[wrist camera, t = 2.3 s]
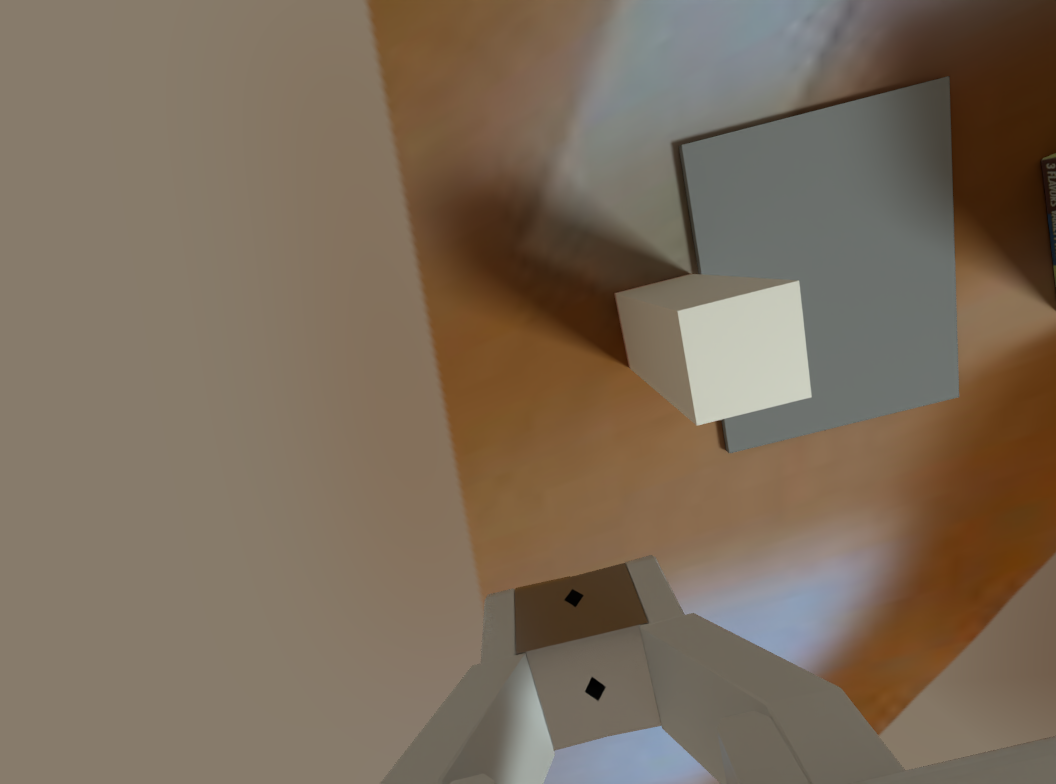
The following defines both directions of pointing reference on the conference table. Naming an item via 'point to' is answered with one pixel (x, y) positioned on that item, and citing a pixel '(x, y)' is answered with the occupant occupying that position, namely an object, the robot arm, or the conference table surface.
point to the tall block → (717, 343)
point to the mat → (841, 249)
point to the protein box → (1051, 200)
